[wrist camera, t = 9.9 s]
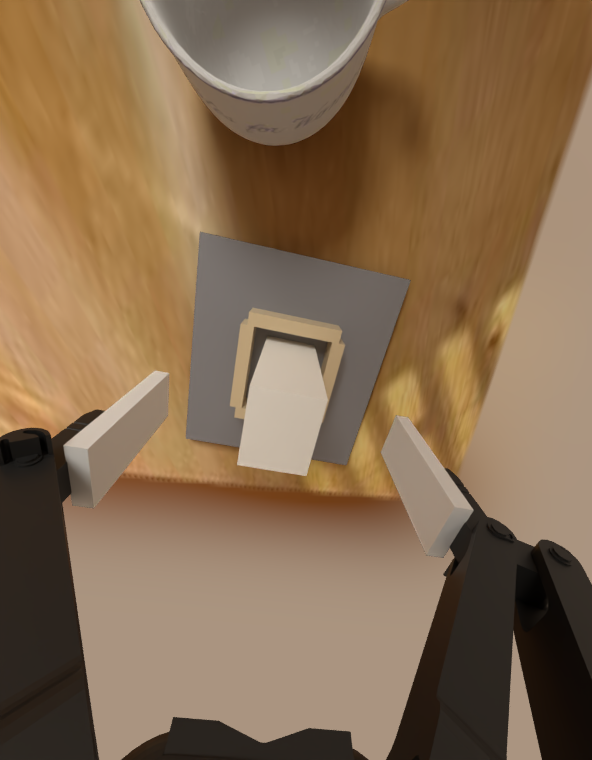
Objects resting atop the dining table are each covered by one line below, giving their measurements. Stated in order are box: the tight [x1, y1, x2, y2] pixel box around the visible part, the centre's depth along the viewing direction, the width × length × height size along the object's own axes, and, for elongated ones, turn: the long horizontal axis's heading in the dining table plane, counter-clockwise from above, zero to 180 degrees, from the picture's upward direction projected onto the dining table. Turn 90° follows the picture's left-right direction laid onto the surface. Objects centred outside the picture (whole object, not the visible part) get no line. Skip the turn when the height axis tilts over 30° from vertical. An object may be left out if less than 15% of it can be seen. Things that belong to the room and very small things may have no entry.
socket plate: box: [186, 232, 411, 465], centre depth 24 cm, size 18×16×3 cm
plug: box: [237, 336, 328, 476], centre depth 20 cm, size 5×4×10 cm
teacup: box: [140, 0, 408, 146], centre depth 14 cm, size 14×11×8 cm
